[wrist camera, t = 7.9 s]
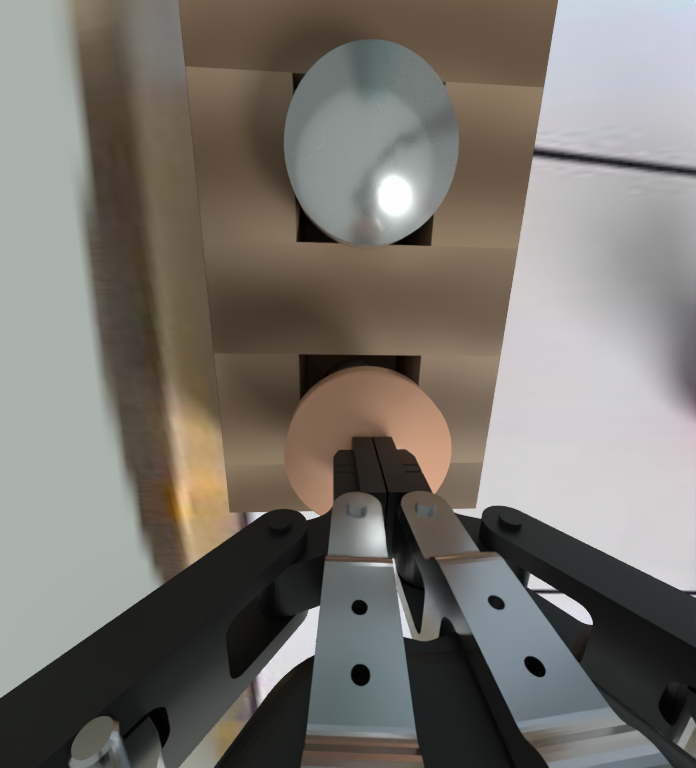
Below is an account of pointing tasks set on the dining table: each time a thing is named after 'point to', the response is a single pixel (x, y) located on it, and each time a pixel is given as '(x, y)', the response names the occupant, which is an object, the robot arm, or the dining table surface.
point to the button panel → (349, 264)
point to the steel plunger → (370, 143)
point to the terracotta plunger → (361, 427)
